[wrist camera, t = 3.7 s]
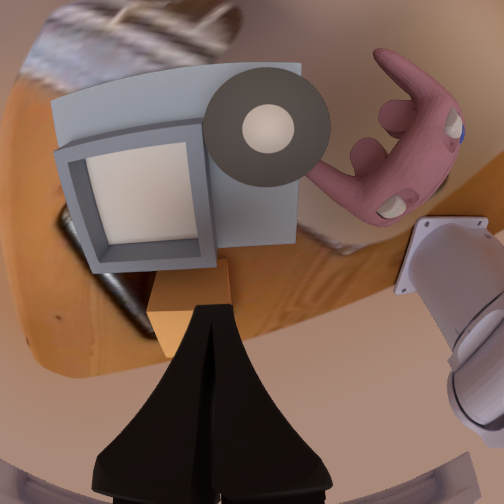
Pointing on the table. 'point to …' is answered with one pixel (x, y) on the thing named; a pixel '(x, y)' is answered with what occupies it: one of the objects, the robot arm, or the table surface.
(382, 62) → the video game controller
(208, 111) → the wheel
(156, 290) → the orange cube
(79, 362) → the table surface
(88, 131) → the chassis
